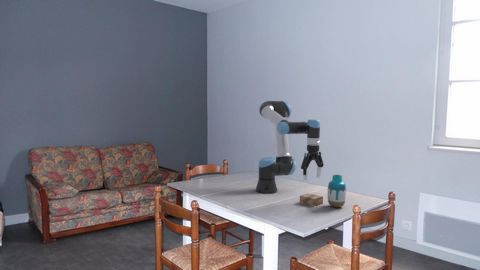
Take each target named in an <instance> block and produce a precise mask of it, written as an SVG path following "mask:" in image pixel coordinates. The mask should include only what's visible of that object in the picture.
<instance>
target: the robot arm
mask: <svg viewBox="0 0 480 270" xmlns="http://www.w3.org/2000/svg"><path fill="white" fill-rule="evenodd" d="M258 112H259V114H260V116H261V117H263V119H265V120H268V121H269V122H270V123H272V124H273V125H274V127H275V138H276V150H277V152H276V153H277V155H276V156H275V157H272V156H271V157H262V158H261V159H259V161H258V180H257V184H256V186H255V192H257V193H260V194H275V193H277V192H278V187H277V181H276V177H279V176H281V177H282V176H292V175H293V174H294V173H295V171H296V168H297V164H296V163H297V162H296V161H295V159H294V158H293V156H292V154H290V145H289V143H290V142H289V135H306V136H307V137H306V144H307V145H306V151H307V152H305V153H304V156H303V160H302V163H301V166H300V169H301V170H302V175H303V176H302V179H303V180H302V181H308V179H309V178H308V177H309V172H308V171H309V170H308V168H309V166H310V164H311V162H312V161H314V162H315V164H316V178H319V179H322V177H321V176H322V168H324V165H325V164H324V160H323V157H322V152H321V151H320V137H321V134H320V133H321V121H320V119H307V121H289V119H290V116H292V115H291V114H292V107H291V104H290V103H289V102H288V101H284V100H266V101H263V102H262V103H261V104H260V106H259V109H258Z"/></svg>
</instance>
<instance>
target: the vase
mask: <svg viewBox="0 0 480 270" xmlns="http://www.w3.org/2000/svg"><path fill="white" fill-rule="evenodd" d="M346 192H347V185H346V183H345V181H343V176H342V175H341V174H333V175H332V179H331V181H330V180H329V182H328V187H327V204H328V205H329V206H331V207H333V208H341V207H343V206H344V205H345V204H346V198H347V197H346V195H347V193H346Z"/></svg>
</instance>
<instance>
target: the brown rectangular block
mask: <svg viewBox="0 0 480 270" xmlns="http://www.w3.org/2000/svg"><path fill="white" fill-rule="evenodd" d="M299 204H301V205H305V206H309V205H310V206H311V207H314V206H316V207H318V205H319V206H321V205H323V204H324V196H322V195H319V194H318V195H317V194H313V193H309V192H308V193H304V194H300V195H299ZM320 204H321V205H320Z"/></svg>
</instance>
